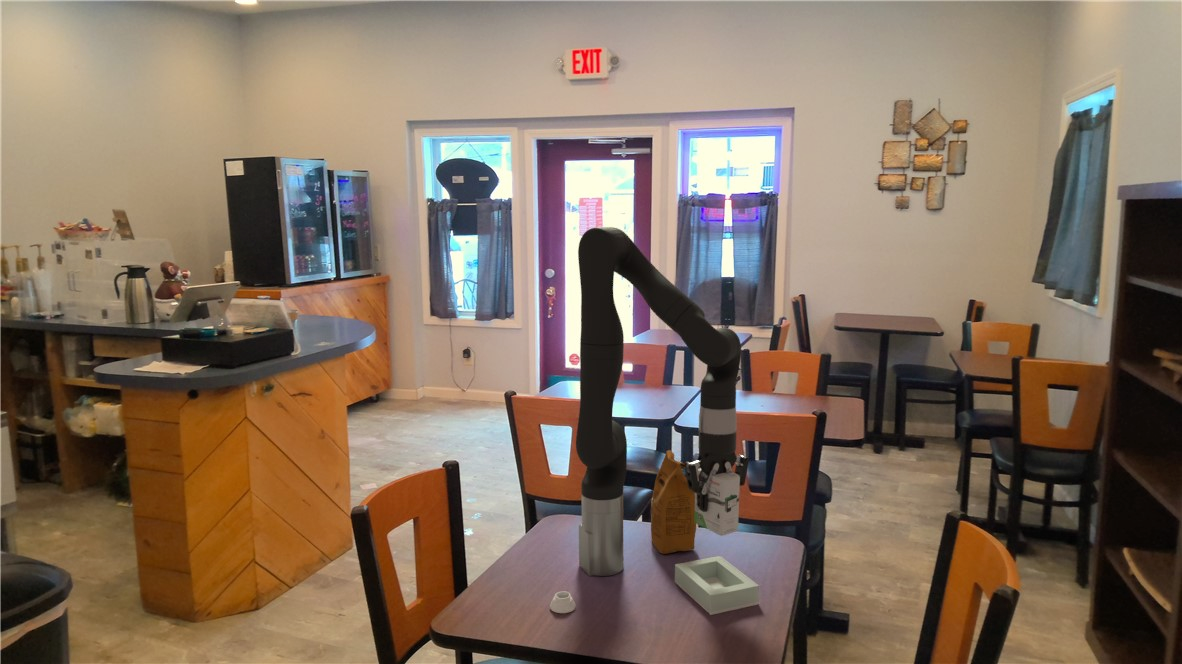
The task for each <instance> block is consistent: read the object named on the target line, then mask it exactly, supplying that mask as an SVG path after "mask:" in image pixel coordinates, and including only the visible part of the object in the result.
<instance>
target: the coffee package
mask: <svg viewBox="0 0 1182 664" xmlns="http://www.w3.org/2000/svg"><path fill="white" fill-rule="evenodd" d="M683 470H685V463H683V462H681V461H677V460H675V453H674V452H673V451H672V450H670V449H669V450H666V453H665V455H664V458H663V460H662V462H661V465H660V468H659V470H658V472H657V475H656V478H655V481H654V488H653V493H652V499H651V505H650V506H651V508H650V519H651V522H650V523H651V524H650V533H651V535H650V538H651V540H652V544H653V546H654V548H655V549H656V550H658V551H659V553H660V554H662V555H668V554H673V553H676V552H688V551H691V550H695V539H696V531H697V524H696V523H694V516H695V492H693V491H692V490H690V489H689V488H688V483H687V477H686V474H685V473H684V471H683Z"/></svg>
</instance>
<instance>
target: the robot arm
mask: <svg viewBox="0 0 1182 664" xmlns="http://www.w3.org/2000/svg"><path fill="white" fill-rule="evenodd" d="M577 254H578V256H577V257H578V259H577V260H578V268H579V269H578V270H579V281H580V296H581V298H580V299H581V301H580V302H581V303H580V304H581V305H580V341H579V342H580V343H579V344H580V345H579V347H580V349H579V350H580V351H579V360H580V365H579V367H580V368H579V369H580V371H579V373H580V375H579V384H580V385H579V386H580V387H579V391H580V392H579V395H580V396H579V401H580V402H579V413H578V419H577V420H578V422H577V430H576V435H575V437H576V438H575V450H576V454H577V457H578V458H579V460H580V461H581V463H582V464H583V465H584V466H585V467H586V470H585V473H584V476H583V478H582V480H581V489H580V490H581V492H580V493H581V524H579V525H578V565H579V566H580V568H581V569H582V570H583V571H584V572H585V573H586V575H587V576H598V577H604V576H606V577H607V576H613V575H616V574H618V573H620V572H622V571H623V569H624V486H625V482H626V479H627V478H626V477H627V461H628V459H627V458H628V457H627V456H628V443H627V441H628V439H627V436H626V432H625V430H624V428H623V427H622V426H621V424H620V423H619V422H617V421H616V420H613V409H614V408H613V407H614V400H615V396H616V392H617V390H618V386H619V382H620V379H621V375H622V372H623V371H622V370H623V365H624V364H623V363H624V346H625V345H624V344H625V343H624V342H625V340H624V338H625V337H624V330H623V326H622V322H621V318H620V316H619V313H618V310H617V306H616V303H615V299H614V280H615V279H614V275H615V273H616V274H617V275H619V276H620V277H622V278H624V279H626V280H627V281H628V282H629V283H630V284H632V286H633V287H634V288H635V289H636V290H637V291H638V292H639V294H640V295H641V297H642V298H643V300H644V301H645V303H646V304H647V306H648V307H649V308H650V310H651V311H652V312H653V313H654V315H656V317H658V318H659V319H660V320H661V321H662V322H663V323H664V324H665V325H667V327H669V328H670V329H671V331H672V330H673V331H674V332H675V334H677V335H678V336H679V337H680V338H681V340H682V341H683V343H684V344H685V345H686V347H687V348H688V350H690V351H691V353H692V354H693V355H694V356H695V357H696V358H697V360H699V361H700V362H701V363H703V364H705V365H706V373H705V376H704V377H703V379H702V380H701V383H700V404H699V405H700V406H699V407H700V408H699V412H698V414H699V415H698V452H699V454H698V457H697V459H696V460H694V461H692V462H689V461H685V462H684V464H685V469H684V470H685V477H686V478H687V483H688V488H689V489H690V490H692V491H693V492H695V493H697V506H698V508H699V509H700V510H701V511H703V512H707V506H708V494H706V493H707V491H708V488H709V485H711V484H712V478H713V476H715V475H716V474H721V473H736V474H738V475H739V476H740V486H744V485H745V483H746V480H747V479H746V478H747V473H748V468H749V462H750V458H748V457H747V456H745V455H744V454H740V453H739V454H738V455H737V454H736V451H737V427H738V424H737V423H738V421H737V420H738V418H737V417H738V415H737V406H736V405H737V388H736V387H737V379H738V375H739V369H740V364H741V358H742V357H741V356H742V345H741V340H740V337H739V335H738V334H737V333H736V331H734V330H733V329H731V328H727V327H720V328H715V327H714V326H713V325H712V324H711V323H710V322H708V320H707V319H706V318H705V312H704V310H703V309H702V308H701V307H700V306H699V305H698V304H697V303H695V302H694V301H693V300H692V299H691V298H689V296H687V294H685V293H684V292H683V291H682V290H680V289H679V288H678V287H677V286H676V285H675V284H673V283H672V282H671V281H670V280H669V279H668V278H666V276H665V275H664V274H663V273H661V271H660V270H659V269H657V268H656V266H655V265H654V264H653V263H652V262H651V261H650V260H649V259H648V258H647V257H646V256H645V255H644V253H643V252H642V251H641V250H640V248H639V247H638V246H637V245H636V243H635V242H634V241H633V240H632V239H631V237H630V236H628V234H627V233H625V231H624V230H621V229H620V228H618V227H614V226H599V227H597V226H595V227H592V228H589V229H587V230H586V231H585V232H584V233H583V234H582V236H581V237H580V240H579V242H578V248H577ZM734 465H735V468H734V472H733V467H734ZM699 468H701V472H700V474H699V477H698V478H699V481H698V478H697V472H698V469H699ZM703 472H704V473H705V474H706V475H707V476H708V477H707V478H705V477H703Z"/></svg>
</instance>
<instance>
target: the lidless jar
mask: <svg viewBox="0 0 1182 664" xmlns="http://www.w3.org/2000/svg"><path fill="white" fill-rule="evenodd" d="M549 608H550V610H551V612H554V613H558V614H567V613H570V612H571V613H572V612H573V611H575V609H576V603H575V600H574V599H573V597H572V596H571V593H570V592H569V591H564V590H563V591H557V592H556V593H555V594H554V596H553V597H552V600H551V602H550V605H549Z"/></svg>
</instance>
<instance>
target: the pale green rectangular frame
mask: <svg viewBox="0 0 1182 664" xmlns="http://www.w3.org/2000/svg"><path fill="white" fill-rule="evenodd" d="M674 583H675V584H676V585H677V586H678V587H680V588H681V590H683V591H684V592H685V593H686V594H687V595H689V597H691V599H692V600H694V601H695V602H696V603H697V604H698V605H699V606H700V607H701V608H702V609H704V611H706V612H707V613H708V614H709V616H712V615H718V614H721V613H725V612H730V611H734V610H739V609H744V608H748V607H754V606H757V605H759V600H760V599H759V598H760V585H759V584H757V583H756V582H755V581H754V580H752V579H751V578H749V576H747V575H745V573H743V572H742V571H740V570H739V569H738V568H737V567H735V566H734V565H733V564H731V563H730V562H729V561H727V560H726V559H725V558H724V557H722V556H720V555H717V556H713V557H706V558H701V559H697V560H690V561H686V562H681V563H675V564H674Z"/></svg>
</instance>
